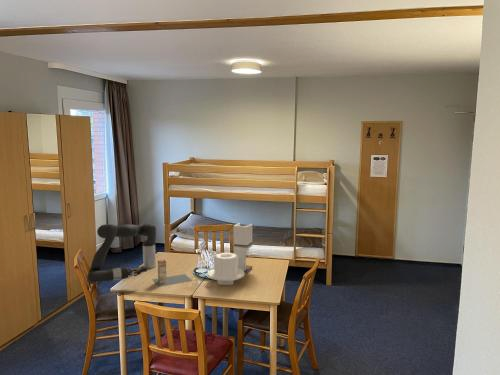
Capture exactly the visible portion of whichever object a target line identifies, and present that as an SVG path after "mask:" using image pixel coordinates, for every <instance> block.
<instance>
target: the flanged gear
mask: <svg viewBox="0 0 500 375" xmlns="http://www.w3.org/2000/svg"><path fill="white" fill-rule="evenodd" d="M244 276H245V273H244V271H243V270H242V269H239V268H238V256H237V255H236V254H234V252H221V253H220V252H219V253H217V254H216V255H214V256H213V268H212V269H210V270H209V271H207V277H208V278H209V279H211V280H215V281H217V284H218V285H220V286H221V285H222V286H223V285H225V286H232V285H234V281H237V280H240V279H242V278H243V277H244Z"/></svg>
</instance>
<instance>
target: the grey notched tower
mask: <svg viewBox="0 0 500 375" xmlns="http://www.w3.org/2000/svg"><path fill="white" fill-rule="evenodd" d="M251 247H253V223H250V224H248V225H241V222H238V223H236V224H234V225H233V254H236V255H237V256H238V268H239V269H242V270H243V271H244V274H248V273H249V272H250V271H251V270H253V265H247V258H249V254H250V252H249V250H250V248H251Z"/></svg>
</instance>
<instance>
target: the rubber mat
mask: <svg viewBox="0 0 500 375" xmlns="http://www.w3.org/2000/svg"><path fill="white" fill-rule="evenodd" d="M152 282H153V283H154V284H155V285H156V286H157V287H158V288H160V287H167V286H171V285H177V284H182V283H183V284H184V283H187V282H188V283H190V282H193V280H192V279H191V278H190V277H189V276H188V275H187V274H185V273H182V274H176V275H170V276H166V283H159V282H158V278H152Z"/></svg>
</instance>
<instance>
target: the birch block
mask: <svg viewBox="0 0 500 375" xmlns="http://www.w3.org/2000/svg"><path fill="white" fill-rule="evenodd" d="M166 277H167V261H166V259H158V260H157V279H158V282H159V283H166Z"/></svg>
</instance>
